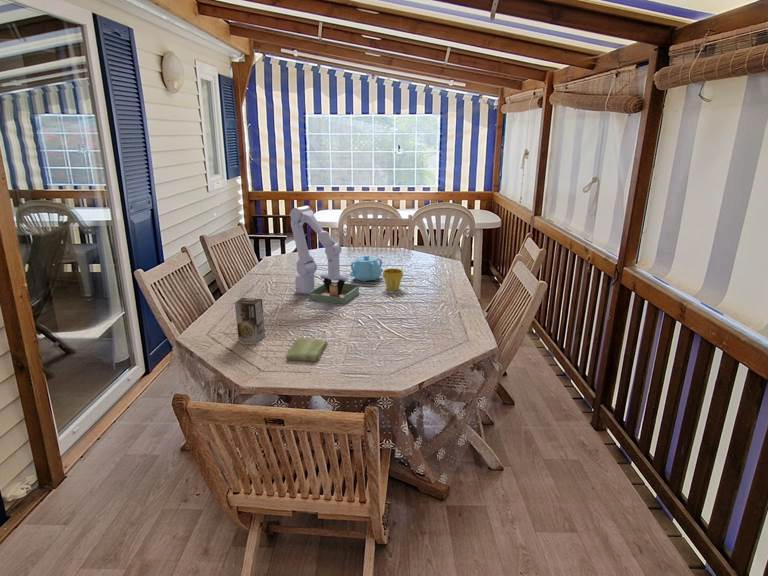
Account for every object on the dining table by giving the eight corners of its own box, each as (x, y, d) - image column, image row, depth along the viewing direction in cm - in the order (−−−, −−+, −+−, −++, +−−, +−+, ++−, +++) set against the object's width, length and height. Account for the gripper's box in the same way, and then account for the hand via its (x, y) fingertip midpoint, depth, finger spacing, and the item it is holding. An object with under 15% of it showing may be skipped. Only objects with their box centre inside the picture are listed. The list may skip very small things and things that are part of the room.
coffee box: (265, 336, 206) (262, 298, 201) (258, 342, 200) (255, 303, 195) (245, 334, 208) (242, 297, 203) (237, 340, 202) (234, 302, 197)
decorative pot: (373, 284, 274) (373, 260, 270) (347, 281, 281) (346, 257, 277) (385, 277, 289) (385, 254, 284) (360, 273, 295) (360, 251, 291)
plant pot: (400, 292, 261) (400, 274, 258) (381, 291, 263) (381, 273, 260) (404, 286, 271) (404, 268, 268) (385, 285, 273) (385, 267, 270)
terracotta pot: (327, 297, 253) (327, 285, 251) (332, 294, 258) (332, 283, 256) (337, 298, 251) (336, 286, 249) (341, 295, 256) (341, 284, 254)
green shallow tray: (309, 299, 250) (309, 290, 248) (325, 289, 265) (325, 280, 264) (344, 304, 244) (344, 294, 242) (358, 293, 259) (358, 284, 257)
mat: (304, 307, 239) (304, 307, 239) (314, 301, 248) (314, 301, 247) (327, 310, 235) (327, 310, 234) (336, 304, 243) (336, 303, 243)
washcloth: (328, 344, 199) (328, 336, 198) (318, 363, 183) (318, 355, 182) (296, 342, 201) (295, 335, 200) (283, 362, 184) (282, 354, 183)
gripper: (317, 268, 249) (318, 294, 253) (343, 270, 244) (344, 297, 248) (323, 264, 255) (324, 290, 259) (349, 267, 250) (350, 293, 254)
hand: (334, 293), depth 254 cm, fingers closed on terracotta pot, 5 cm apart
